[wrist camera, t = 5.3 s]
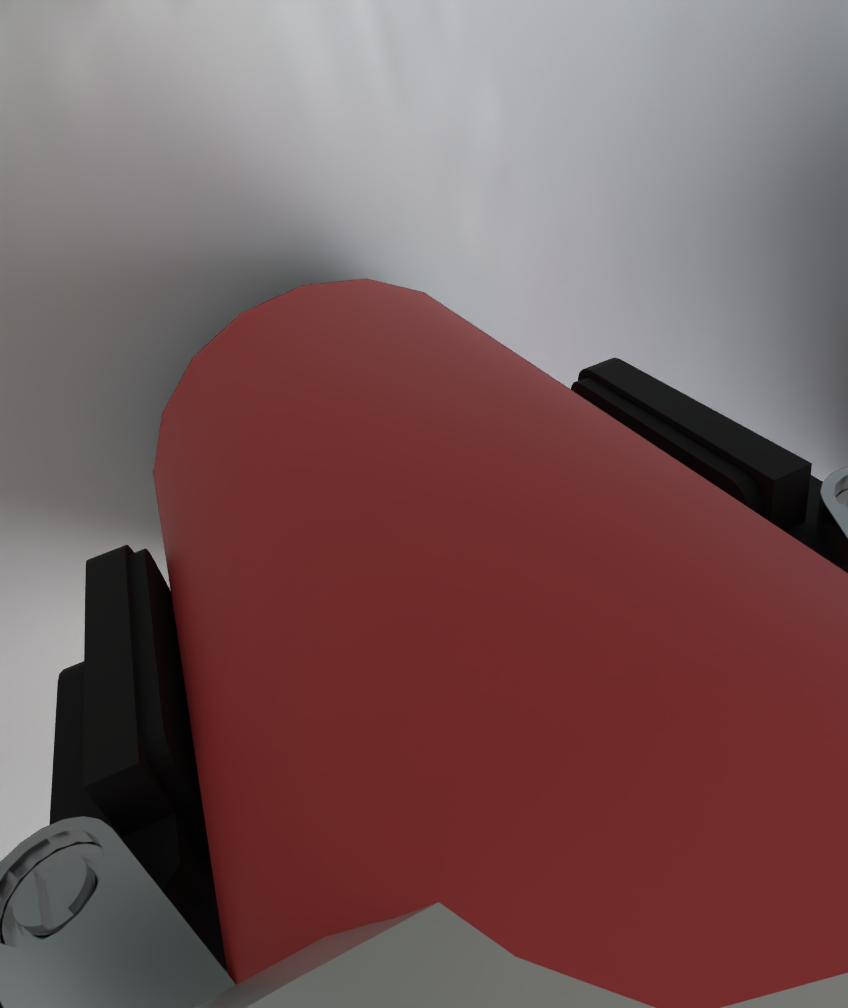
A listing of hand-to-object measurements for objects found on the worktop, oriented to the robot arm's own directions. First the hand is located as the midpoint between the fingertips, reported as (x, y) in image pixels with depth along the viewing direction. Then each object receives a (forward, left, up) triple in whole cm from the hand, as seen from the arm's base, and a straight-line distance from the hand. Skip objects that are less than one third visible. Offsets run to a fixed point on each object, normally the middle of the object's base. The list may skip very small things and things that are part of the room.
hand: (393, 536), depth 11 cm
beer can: (0, 0, -3) cm, 3 cm away
